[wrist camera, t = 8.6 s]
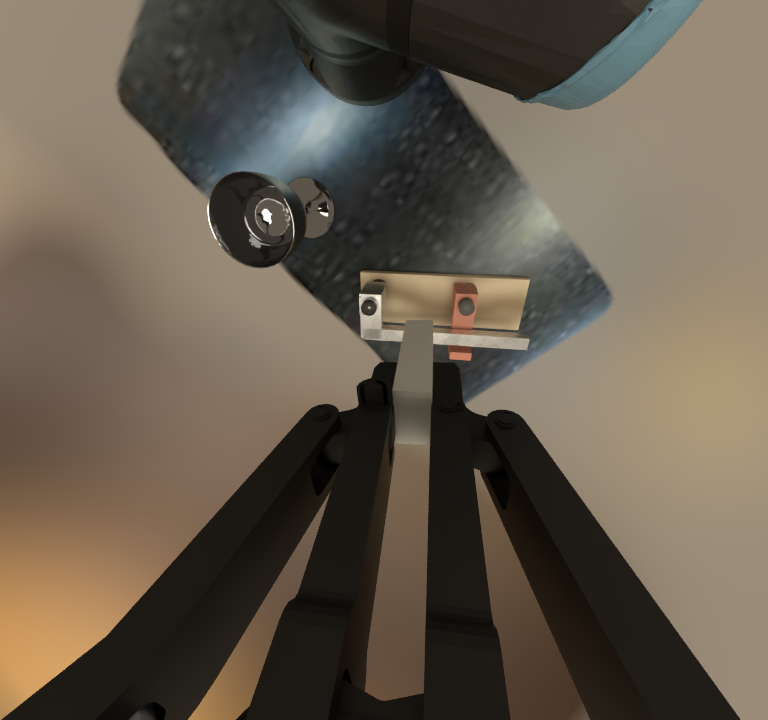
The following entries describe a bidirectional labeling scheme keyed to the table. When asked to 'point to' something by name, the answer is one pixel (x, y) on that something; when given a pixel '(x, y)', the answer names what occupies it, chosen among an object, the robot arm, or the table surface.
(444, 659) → the robot arm
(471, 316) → the slide leg
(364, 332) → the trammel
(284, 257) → the wine glass
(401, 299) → the bolt plate
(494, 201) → the table surface
